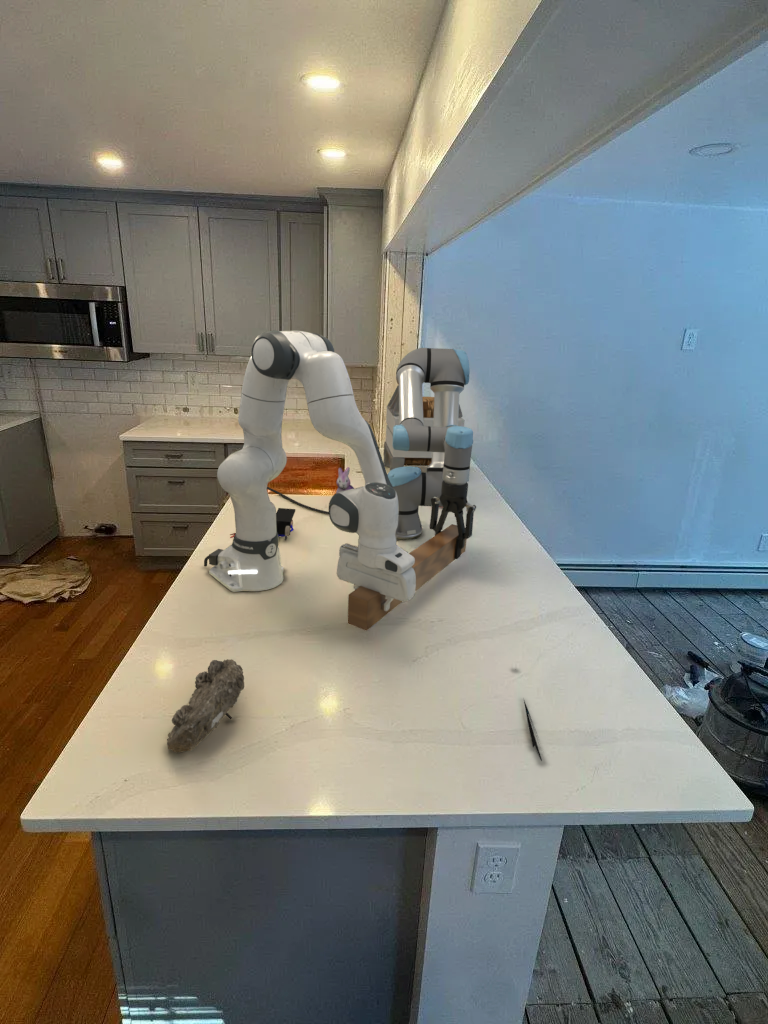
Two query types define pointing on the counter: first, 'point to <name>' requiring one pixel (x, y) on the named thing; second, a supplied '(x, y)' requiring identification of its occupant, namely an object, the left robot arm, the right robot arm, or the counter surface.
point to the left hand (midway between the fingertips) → (373, 605)
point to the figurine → (343, 480)
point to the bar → (427, 565)
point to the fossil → (206, 705)
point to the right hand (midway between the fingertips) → (448, 554)
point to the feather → (532, 731)
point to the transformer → (392, 418)
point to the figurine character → (284, 522)
